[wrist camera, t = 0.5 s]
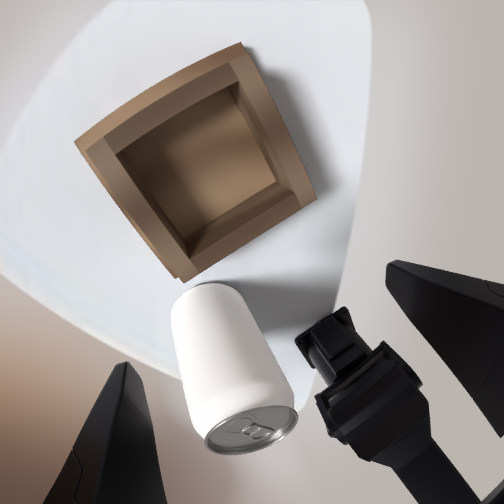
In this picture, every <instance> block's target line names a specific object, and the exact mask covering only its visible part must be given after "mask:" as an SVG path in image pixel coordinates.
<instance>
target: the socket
mask: <svg viewBox="0 0 504 504" xmlns="http://www.w3.org/2000/svg"><path fill="white" fill-rule="evenodd" d="M74 143H75V145H76V146H77V148H78V149H79V151H80V152H81V154H82V155H83V157H84V158H85V160H86V161H87V163H88V164H89V166H90V167H91V169H92V170H93V172H94V173H95V174H96V176H97V177H98V179H99V180H100V182H101V183H102V184H103V186H104V187H105V189H106V190H107V192H108V193H109V194H110V196H111V197H112V198H113V200H114V201H115V203H116V204H117V205H118V207H119V208H120V209H121V211H122V212H123V213H124V215H125V216H126V217H127V219H128V220H129V221H130V223H131V224H132V225H133V227H134V228H135V229H136V231H137V232H138V233H139V235H140V236H141V237H142V238H143V240H144V241H145V242H146V244H147V245H148V246H149V247H150V249H151V250H152V251H153V252H154V254H155V255H156V256H157V257H158V259H159V260H160V261H161V262H162V264H163V265H164V266H165V267H166V269H167V270H168V271H169V272H170V273H171V275H172V276H173V277H174V278H175V279H176V278H177V277H179V278H180V280H181V281H182V282H183V283H186V282H187V281H189V280H190V279H192V278H194V277H195V276H197V275H198V274H200V273H201V272H203V271H204V270H206V269H208V268H209V267H211V266H212V265H214V264H215V263H217V262H219V261H220V260H222V259H223V258H225V257H226V256H228V255H229V254H231V253H233V252H234V251H236V250H237V249H239V248H240V247H242V246H244V245H245V244H247V243H248V242H250V241H251V240H253V239H255V238H256V237H258V236H259V235H261V234H262V233H264V232H266V231H267V230H269V229H270V228H272V227H274V226H275V225H277V224H278V223H280V222H281V221H283V220H285V219H286V218H288V217H289V216H291V215H293V214H294V213H296V212H297V211H299V210H301V209H302V208H304V207H305V206H307V205H309V204H310V203H312V202H313V201H315V200H316V199H317V197H316V194H315V192H314V189H313V187H312V185H311V182H310V180H309V178H308V175H307V173H306V170H305V168H304V166H303V164H302V161H301V159H300V157H299V154H298V152H297V150H296V148H295V146H294V143H293V141H292V139H291V137H290V135H289V132H288V130H287V128H286V126H285V124H284V122H283V120H282V118H281V116H280V113H279V111H278V109H277V107H276V105H275V103H274V101H273V99H272V97H271V95H270V93H269V91H268V89H267V87H266V85H265V83H264V81H263V79H262V78H261V76H260V74H259V72H258V70H257V68H256V66H255V64H254V62H253V61H252V59H251V57H250V55H249V53H248V54H247V52H246V50H245V48H244V47H243V45H242V43H241V42H239V43H237V44H234V45H232V46H230V47H227V48H225V49H223V50H221V51H218V52H216V53H214V54H212V55H210V56H208V57H206V58H204V59H202V60H200V61H198V62H196V63H194V64H192V65H190V66H188V67H186V68H184V69H182V70H180V71H178V72H177V73H175V74H173V75H171V76H169V77H168V78H166V79H164V80H162V81H161V82H159V83H157V84H155V85H154V86H152V87H150V88H149V89H147V90H146V91H144V92H142V93H141V94H139V95H138V96H136V97H134V98H133V99H131V100H130V101H128V102H127V103H125V104H124V105H122V106H121V107H119V108H118V109H116V110H115V111H114V112H112V113H111V114H109V115H108V116H107V117H105V118H104V119H102V120H101V121H100V122H98V123H97V124H96V125H94V126H93V127H92V128H90V129H89V130H88V131H86V132H85V133H84V134H83V135H81V136H80V137H79V138H78V139H76V140H75V141H74Z"/></svg>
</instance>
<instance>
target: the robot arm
mask: <svg viewBox="0 0 504 504" xmlns="http://www.w3.org/2000/svg"><path fill="white" fill-rule="evenodd" d="M385 282H386V287H387V289H388V290H389V292H390V293H391V295H392V296H393V298H394V299H395V300H396V302H397V303H398V305H399V306H400V307H401V309H402V310H403V312H404V313H405V314H406V316H407V317H408V319H409V320H410V321H411V322H412V324H413V325H414V326H415V327H416V328H417V330H418V331H419V332H420V333H421V334H422V335H423V337H424V338H425V339H426V340H427V341H428V343H429V344H430V345H431V346H432V348H433V349H434V350H435V351H436V352H437V354H438V355H439V356H440V357H441V359H442V360H443V361H444V362H445V364H446V365H447V366H448V367H449V369H450V370H451V371H452V372H453V374H454V375H455V376H456V378H457V379H458V380H459V382H460V383H461V384H462V385H463V387H464V388H465V389H466V391H467V392H468V393H469V395H470V396H471V397H472V398H473V400H474V402H475V403H476V404H477V406H478V407H479V409H480V410H481V411H482V413H483V414H484V416H485V417H486V418H487V420H488V421H489V423H490V424H491V426H492V427H493V428H494V430H495V432H496V433H497V434H498V436H499V437H500V438H501V437H502V436H503V435H504V284H500V283H495V282H491V281H487V280H482V279H479V278H474V277H470V276H466V275H462V274H458V273H453V272H449V271H445V270H441V269H436V268H432V267H428V266H423V265H419V264H414V263H410V262H405V261H400V260H394V261H392V262H390V263H388V264H387V267H386V280H385ZM294 342H295V344H296V345H297V347H298V348H299V350H300V351H301V353H302V354H303V356H304V357H305V359H306V360H307V362H308V363H309V365H310V366H311V368H312V369H314V368H316V369H317V370H318V372H319V373H320V375H321V376H322V378H323V379H324V381H325V382H326V384H327V385H328V387H327V388H326V389H325V390H323V391H322V392H321V393H318V394H317V395H315V396H314V397H315V399H316V401H317V403H316V405H317V406H318V408H319V410H320V413H321V415H322V417H323V419H324V422H325V424H326V428H327V432H328V434H329V436H330V437H333V438H337V439H338V440H339V441H340V442H341V443H343V444H344V445H347V444H349V445H350V446H351V448H352V449H353V450H354V451H355V453H356V454H357V456H358V457H359V458H361V459H363V460H366V461H368V462H370V461H373V462H376V463H379V464H382V465H386V466H389V467H391V468H392V469H393V470H394V472H395V473H396V474H397V475H398V477H399V478H400V480H401V481H402V482H403V483H404V485H405V486H406V488H407V489H408V490H409V492H410V493H411V494H412V495H413V497H414V498H415V500H416V501H417V502H418V504H504V480H503V481H502V482H501V483H500V484H499V485H498V486H497V487H496V488H495V489H494V490H493V491H492V492H491V493H490V494H489V495H488V496H487V497H486V498H485V499H484V500H483V501H482V502H481V501H480V499H479V498H478V497H477V496H476V494H475V493H474V491H473V490H472V489H471V488H470V486H469V485H468V484H467V482H466V481H465V480H464V478H463V477H462V476H461V475H460V473H459V472H458V471H457V469H456V468H455V467H454V465H453V464H452V463H451V461H450V460H449V459H448V458H447V456H446V455H445V454H444V452H443V451H442V450H441V449H440V447H439V446H438V445H437V443H436V442H435V441H434V440H433V438H432V437H431V427H430V415H429V404H428V401H427V399H426V398H425V397H424V395H423V394H422V393H421V392H420V390H419V388H420V387H421V386H422V385H423V384H422V382H421V380H420V379H419V377H418V376H417V374H416V373H415V372H414V371H413V369H412V368H411V367H410V366H409V365H408V364H407V363H406V362H405V361H404V360H403V359H402V358H401V357H400V356H399V355H398V354H397V353H396V352H395V351H394V350H393V349H392V348H391V347H390V346H389V345H388V344H387V343H385V341H382V342H381V343H380V345H379V346H378V347H377V348H376V349H374V350H373V351H372V350H371V348H370V347H369V346H368V345H367V344H366V343H365V341H363V339H362V338H361V337H360V336H359V335H358V333H357V332H356V331H355V328H354V325H353V322H352V319H351V316H350V313H349V310H348V309H347V308H346V307H342V308H340V309H339V310H337V311H336V312H334V313H333V314H331V315H330V316H328V317H327V318H325V319H324V320H323V321H321V322H320V323H318V324H317V325H315V326H314V327H312V328H311V329H309V330H308V331H306V332H305V333H303V334H301V335H300V336H298V337H297V338H296V339H295V341H294ZM43 504H167V500H166V496H165V491H164V487H163V482H162V477H161V472H160V467H159V461H158V456H157V450H156V443H155V437H154V430H153V424H152V420H151V416H150V412H149V408H148V404H147V400H146V396H145V391H144V386H143V382H142V380H141V378H140V376H139V375H138V373H137V372H136V371H135V369H134V368H133V366H132V365H131V364H130V363H129V362H127V361H126V362H122V363H119V364H117V365H116V366H115V367H114V369H113V371H112V373H111V375H110V376H109V378H108V380H107V382H106V384H105V386H104V387H103V389H102V391H101V393H100V395H99V397H98V399H97V400H96V402H95V404H94V406H93V408H92V410H91V412H90V414H89V416H88V418H87V420H86V421H85V424H84V425H83V427H82V429H81V431H80V433H79V436H78V438H77V439H76V441H75V444H74V446H73V450H71V452H70V454H69V456H68V458H67V460H66V462H65V464H64V466H63V468H62V470H61V472H60V474H59V476H58V477H57V479H56V481H55V483H54V485H53V486H52V488H51V490H50V491H49V493H48V495H47V497H46V498H45V500H44V502H43Z"/></svg>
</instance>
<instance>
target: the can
mask: <svg viewBox="0 0 504 504" xmlns="http://www.w3.org/2000/svg"><path fill="white" fill-rule="evenodd" d="M171 324H172V331H173V337H174V343H175V348H176V354H177V359H178V364H179V369H180V374H181V379H182V384H183V388H184V393H185V397H186V401H187V405H188V409H189V413H190V417H191V421H192V424H193V426H194V428H195V430H196V431H197V432H198V433H199V434H200V435H201V436H202V437H203V438H204V440H205V445H206V447H207V448H208V449H209V450H210V451H211V452H214V453H216V454H222V455H240V454H246V453H251V452H254V451H258V450H261V449H263V448H266V447H268V446H270V445H272V444H274V443H276V442H278V441H279V440H281V439H282V438H284V437H285V436H286V435H288V434H289V433H290V432H291V431H292V430H293V428H294V427H295V425H296V424H297V421H298V415H297V412H296V411H295V410H294V394H293V391H292V389H291V387H290V385H289V383H288V381H287V379H286V377H285V375H284V374H283V372H282V370H281V368H280V366H279V364H278V362H277V361H276V359H275V357H274V355H273V353H272V351H271V349H270V347H269V346H268V344H267V342H266V340H265V338H264V336H263V334H262V333H261V331H260V329H259V327H258V325H257V323H256V321H255V319H254V318H253V316H252V314H251V312H250V310H249V308H248V306H247V304H246V303H245V301H244V299H243V297H242V296H241V295H240V293H239V292H238V291H236V290H235V289H233V288H232V287H230V286H227V285H224V284H218V283H209V284H203V285H199V286H196V287H193V288H191V289H189V290H188V291H186V292H185V293H184V294H183V295H182V296H181V297H180V298H179V299H178V300H177V301H176V303H175V304H174V306H173V309H172V312H171Z"/></svg>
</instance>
